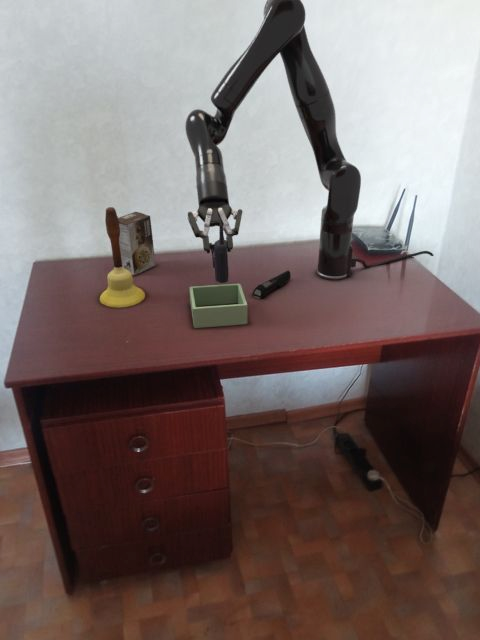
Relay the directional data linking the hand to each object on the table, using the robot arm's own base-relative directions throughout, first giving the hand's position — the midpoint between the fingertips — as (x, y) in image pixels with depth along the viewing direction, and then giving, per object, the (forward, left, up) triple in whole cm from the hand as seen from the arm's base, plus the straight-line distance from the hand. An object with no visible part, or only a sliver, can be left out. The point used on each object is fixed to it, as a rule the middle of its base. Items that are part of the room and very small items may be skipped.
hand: (218, 251), depth 134 cm
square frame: (+1, -1, -18) cm, 18 cm away
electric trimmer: (-16, -14, -18) cm, 29 cm away
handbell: (+26, -15, -18) cm, 35 cm away
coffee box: (+22, -34, -18) cm, 45 cm away
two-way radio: (0, -1, -8) cm, 8 cm away
